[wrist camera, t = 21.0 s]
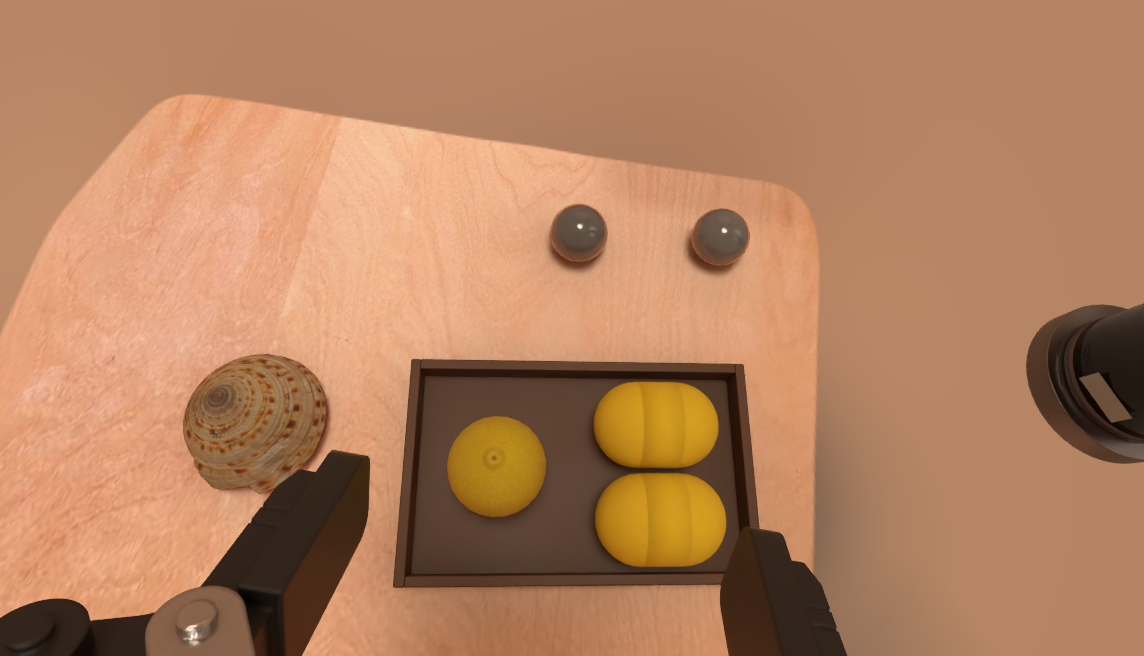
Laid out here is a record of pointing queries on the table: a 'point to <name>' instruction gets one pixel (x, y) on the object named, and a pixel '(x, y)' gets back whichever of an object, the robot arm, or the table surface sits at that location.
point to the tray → (551, 474)
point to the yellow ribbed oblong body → (655, 425)
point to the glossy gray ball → (720, 237)
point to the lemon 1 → (496, 466)
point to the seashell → (254, 422)
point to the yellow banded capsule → (660, 520)
